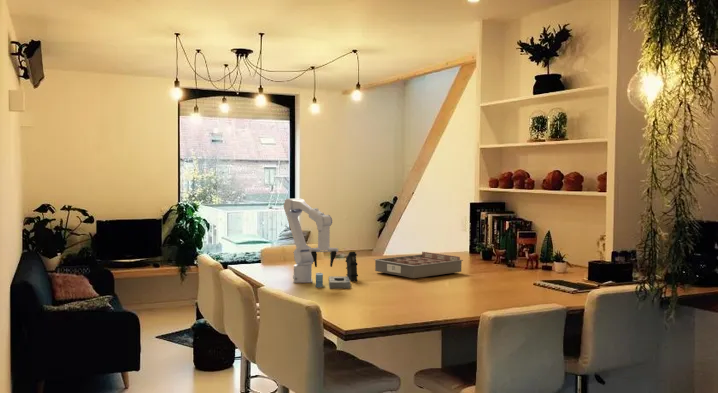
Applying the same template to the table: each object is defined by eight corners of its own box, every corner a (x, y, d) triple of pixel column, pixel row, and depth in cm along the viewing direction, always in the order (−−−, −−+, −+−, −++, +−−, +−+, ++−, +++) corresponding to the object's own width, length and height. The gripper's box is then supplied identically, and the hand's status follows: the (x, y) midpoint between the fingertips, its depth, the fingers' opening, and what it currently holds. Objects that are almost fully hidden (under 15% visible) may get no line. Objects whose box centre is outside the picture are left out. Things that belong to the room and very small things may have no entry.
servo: (315, 287, 296) (315, 274, 296) (315, 284, 306) (315, 271, 306) (322, 287, 296) (322, 274, 296) (322, 284, 307) (322, 271, 306)
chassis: (329, 288, 295) (329, 282, 295) (328, 282, 313) (328, 276, 313) (350, 288, 295) (350, 282, 295) (348, 282, 313) (348, 276, 313)
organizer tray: (373, 273, 345) (373, 255, 344) (422, 267, 370) (422, 251, 370) (413, 281, 320) (413, 262, 320) (463, 274, 346) (463, 256, 346)
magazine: (352, 279, 312) (349, 251, 318) (347, 286, 324) (344, 259, 330) (359, 279, 313) (356, 251, 319) (354, 286, 325) (351, 259, 330)
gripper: (310, 240, 297) (309, 268, 297) (339, 240, 300) (339, 267, 300) (308, 238, 304) (308, 265, 304) (337, 238, 306) (337, 265, 307)
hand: (323, 266), depth 302 cm, fingers open, 7 cm apart
